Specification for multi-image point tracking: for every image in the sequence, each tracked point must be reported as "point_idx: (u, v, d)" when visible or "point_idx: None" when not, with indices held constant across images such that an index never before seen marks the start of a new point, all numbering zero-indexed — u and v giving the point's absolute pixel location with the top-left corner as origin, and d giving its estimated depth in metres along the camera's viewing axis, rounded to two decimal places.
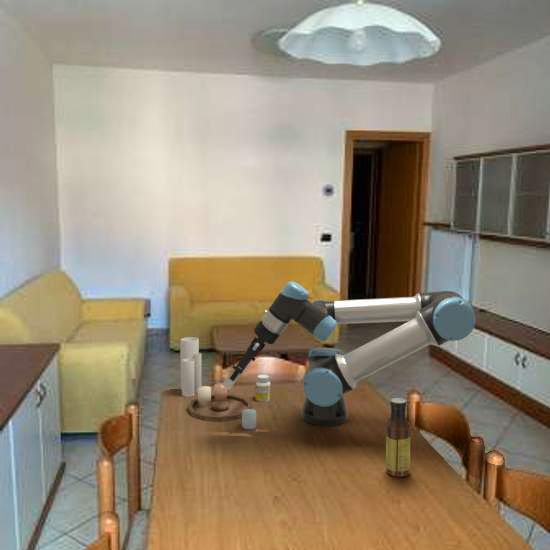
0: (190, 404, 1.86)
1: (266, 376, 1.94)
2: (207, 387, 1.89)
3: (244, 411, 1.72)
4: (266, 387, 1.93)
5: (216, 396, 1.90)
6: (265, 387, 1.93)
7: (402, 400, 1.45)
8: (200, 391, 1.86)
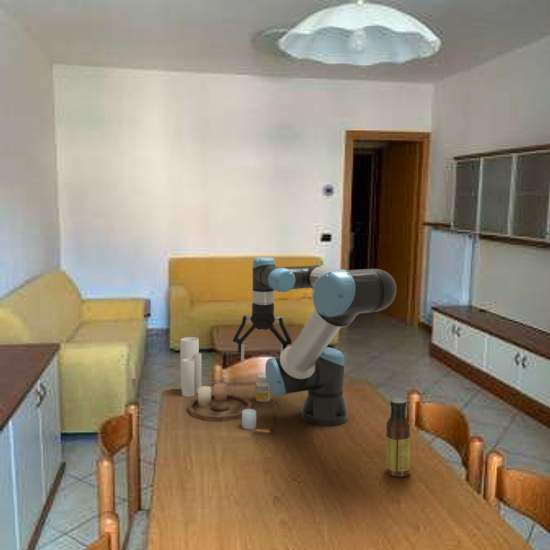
0: (190, 404, 1.86)
1: None
2: (207, 387, 1.89)
3: (244, 411, 1.71)
4: (266, 387, 1.93)
5: (216, 396, 1.90)
6: (265, 387, 1.93)
7: (402, 400, 1.45)
8: (200, 391, 1.86)
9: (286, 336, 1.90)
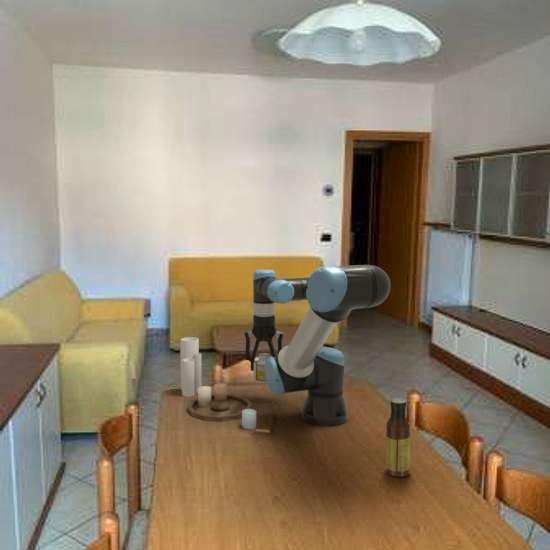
0: (190, 404, 1.86)
1: (267, 354, 1.93)
2: (207, 387, 1.89)
3: (244, 411, 1.71)
4: None
5: (216, 396, 1.90)
6: None
7: (402, 400, 1.45)
8: (200, 391, 1.86)
9: None
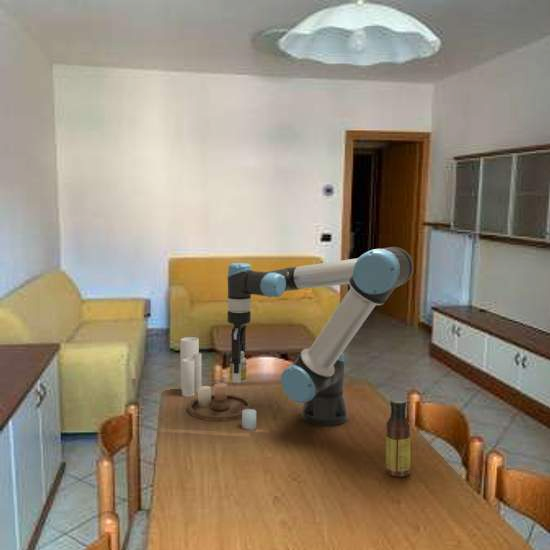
0: (190, 404, 1.86)
1: None
2: (207, 387, 1.89)
3: (244, 411, 1.72)
4: None
5: (216, 396, 1.90)
6: None
7: (402, 400, 1.45)
8: (200, 391, 1.86)
9: None
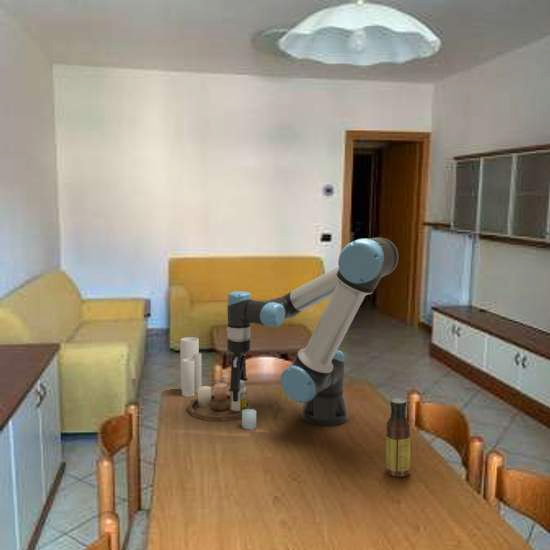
0: (190, 404, 1.86)
1: None
2: (207, 387, 1.89)
3: (244, 411, 1.72)
4: None
5: (216, 396, 1.90)
6: None
7: (402, 400, 1.45)
8: (200, 391, 1.86)
9: (245, 369, 1.91)
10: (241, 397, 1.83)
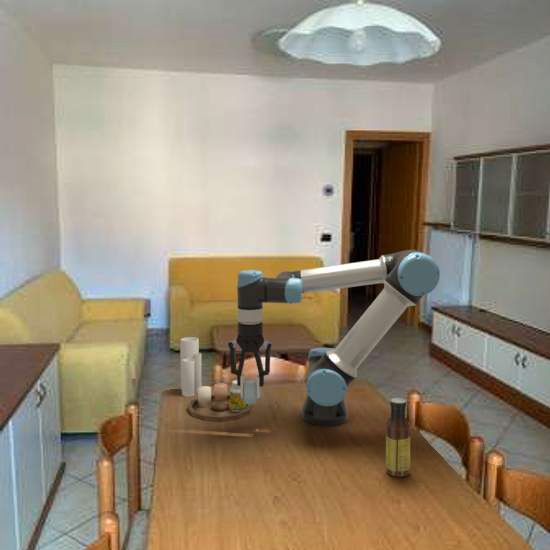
0: (190, 404, 1.86)
1: None
2: (207, 387, 1.89)
3: (245, 383, 1.70)
4: None
5: (216, 396, 1.90)
6: None
7: (401, 399, 1.45)
8: (200, 391, 1.86)
9: (266, 365, 1.68)
10: (241, 397, 1.83)
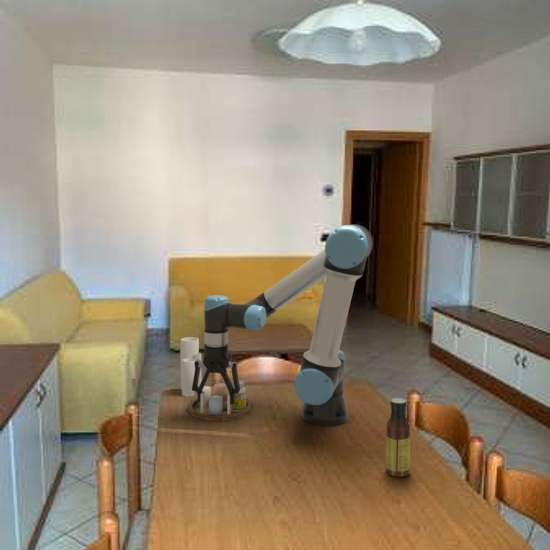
0: (190, 404, 1.86)
1: None
2: (207, 387, 1.89)
3: (211, 397, 1.79)
4: None
5: None
6: None
7: (402, 400, 1.45)
8: None
9: (235, 384, 1.77)
10: (241, 397, 1.83)
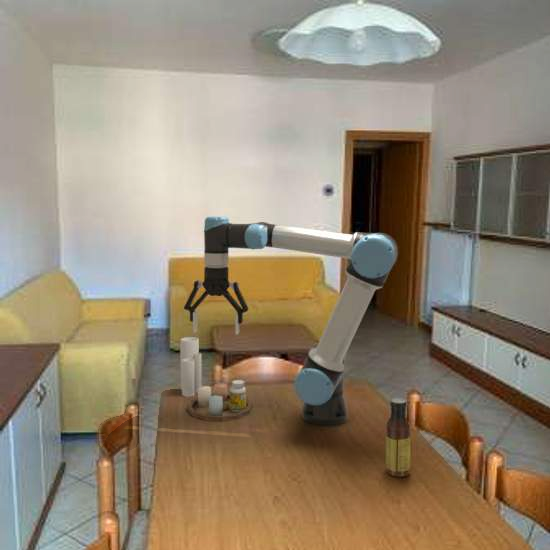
0: (190, 404, 1.86)
1: (238, 380, 1.85)
2: (207, 387, 1.89)
3: (211, 397, 1.79)
4: None
5: None
6: None
7: (402, 400, 1.45)
8: (200, 391, 1.86)
9: (241, 303, 1.73)
10: (241, 397, 1.83)
